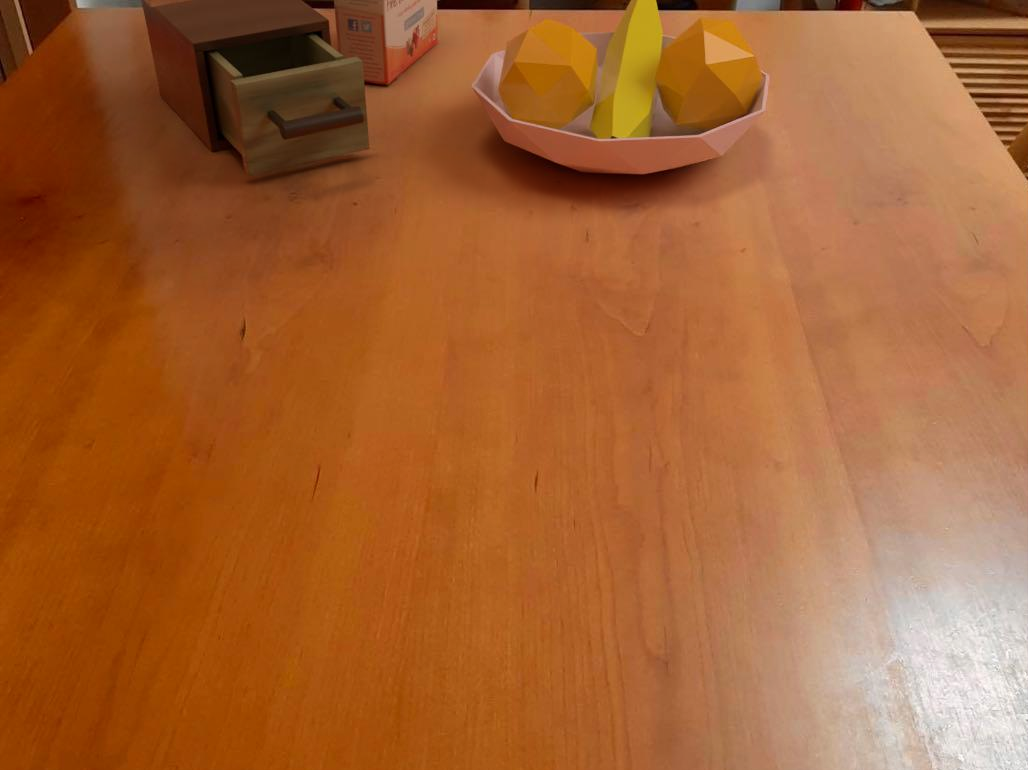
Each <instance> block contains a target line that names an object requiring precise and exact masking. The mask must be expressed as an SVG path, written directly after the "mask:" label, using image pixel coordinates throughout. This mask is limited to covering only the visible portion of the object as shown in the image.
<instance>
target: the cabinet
mask: <svg viewBox="0 0 1028 770" xmlns="http://www.w3.org/2000/svg"><path fill="white" fill-rule="evenodd" d="M141 5H142V9H143V14H144V21H145V25H146V29H147V34H148V40H149V45H150V50H151V55H152V60H153V65H154V70H155V75H156V80H157V84H158V90H159V91H158V92H159V95H160V97H161V98H162V99H163V100H164V101H165V102H166V103H167V104H168V106H170V108H171V109H172V110H173V111H174V112H175V113H176V114H177V115H178V117H180V118H181V119H182V121H183V122H184V123H185V124H186V125H187V126H188V127H189V128H190V130H192V132H193V133H194V134H195V135H196V136H197V138H199V139H200V140H201V141H202V142H203V144H204V145H205V146H206V147H207V148H208V149H209V150H210V151H211V152H217V151H222V150H227V149H231V148H235V147H234V146H233V145H232V144H231V143H230V142H229V141H228V140H227V139H226V138H225V137H224V136H223V135H222V134H221V133H220V132H219V130H218V129H217V128H216V123H215V117H214V111H213V105H212V99H211V94H210V88H209V82H208V76H207V70H206V64H205V58H204V51H209V50H215V49H220V48H226V47H232V46H237V45H243V44H248V43H254V42H260V41H265V40H271V39H277V38H282V37H288V36H293V35H299V34H305V33H310V32H313V33H314V34H316V35H317V36H318V37H319V38H321V39H322V40H323V41H325V42H326V43H327V44H329V45H330V46H331V47H332V39H331V31H330V29H331V27H330V20H329V19H328V18H327V17H325V16H324V15H322V14H321V13H320V12H319V11H317V10H316V9H315V8H313V7H311V6H310V5H309V4H308V3H306V2H305V1H303V0H193V1H187V2H181V3H175V4H169V5H163V6H157V7H150V6H149V5H148V4H147V3H146V2H145V1H144V0H141Z"/></svg>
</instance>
